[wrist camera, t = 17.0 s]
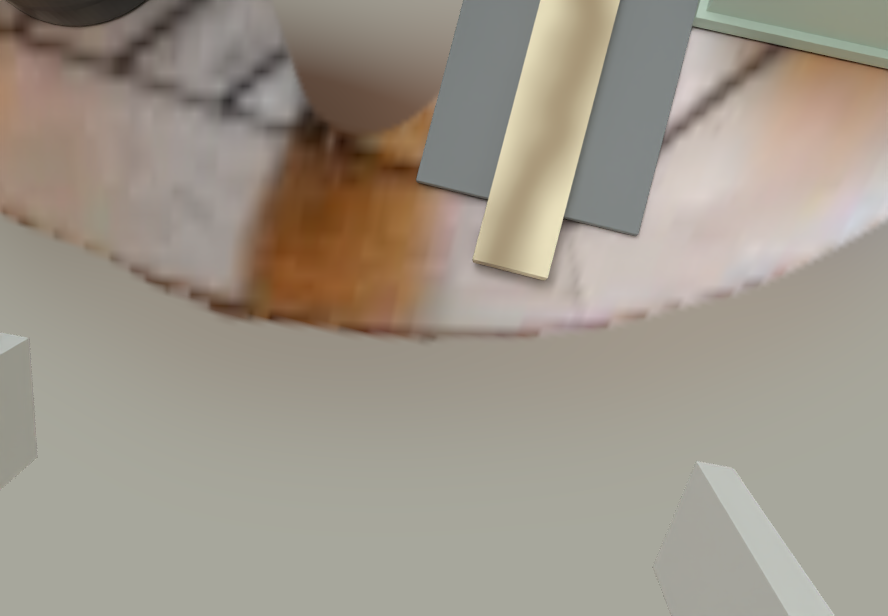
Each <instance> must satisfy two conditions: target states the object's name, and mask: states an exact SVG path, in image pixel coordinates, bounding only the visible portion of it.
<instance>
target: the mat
mask: <svg viewBox="0 0 888 616" xmlns="http://www.w3.org/2000/svg"><path fill="white" fill-rule="evenodd" d="M698 1H699V0H620V2H619V6H618V10H617V14H616V17H615V21H614V25H613V29H612V33H611V37H610V41H609V44H608V48H607V52H606V56H605V60H604V64H603V67H602V71H601V75H600V79H599V83H598V87H597V90H596V94H595V98H594V102H593V106H592V110H591V113H590V117H589V121H588V125H587V129H586V133H585V136H584V140H583V144H582V148H581V152H580V156H579V159H578V163H577V167H576V171H575V175H574V179H573V182H572V186H571V190H570V194H569V198H568V202H567V206H566V209H565V213H564V217H563V218H564V219H568V220H572V221H576V222H581V223H585V224H589V225H593V226H597V227H601V228H605V229H609V230H613V231H617V232H621V233H625V234H629V235H633V236H637V235H638V233H639V229H640V226H641V222H642V218H643V214H644V210H645V206H646V202H647V199H648V195H649V191H650V187H651V183H652V179H653V175H654V171H655V168H656V164H657V160H658V156H659V152H660V148H661V144H662V140H663V137H664V133H665V129H666V125H667V121H668V117H669V113H670V110H671V106H672V102H673V98H674V94H675V90H676V86H677V82H678V79H679V75H680V71H681V67H682V63H683V59H684V55H685V51H686V48H687V44H688V40H689V36H690V32H691V28H692V24H693V21H694V17H695V13H696V9H697V5H698ZM539 4H540V0H463V4H462V8H461V11H460V15H459V19H458V23H457V27H456V30H455V34H454V38H453V42H452V45H451V49H450V53H449V57H448V61H447V65H446V68H445V72H444V76H443V80H442V84H441V87H440V91H439V95H438V99H437V103H436V106H435V110H434V114H433V118H432V122H431V125H430V129H429V133H428V137H427V141H426V144H425V148H424V152H423V156H422V160H421V163H420V167H419V171H418V175H417V179H416V181H417V182H418V183H422V184H426V185H430V186H434V187H439V188H443V189H447V190H451V191H455V192H459V193H463V194H467V195H471V196H475V197H479V198H483V199H487V200H488V198H489V195H490V191H491V187H492V183H493V179H494V176H495V172H496V168H497V164H498V160H499V156H500V153H501V149H502V145H503V141H504V137H505V134H506V130H507V126H508V122H509V118H510V115H511V111H512V107H513V103H514V99H515V95H516V92H517V88H518V84H519V80H520V76H521V73H522V69H523V65H524V61H525V57H526V53H527V50H528V46H529V42H530V38H531V34H532V31H533V27H534V23H535V19H536V15H537V11H538V8H539Z"/></svg>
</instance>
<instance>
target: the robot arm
mask: <svg viewBox="0 0 888 616" xmlns="http://www.w3.org/2000/svg"><path fill="white" fill-rule="evenodd" d="M6 1H7V2H9V3H10V4H12V5H13V6H15V7H16V8H18V9H19V10H21V11H22V12H24V13H26V14H28V15H30V16H32V17H34V18H36V19H39V20H42V21H45V22H48V23H53V24H58V25H66V26H83V25H91V24H96V23H101V22H105V21H108V20H111V19H114V18H116V17H118V16H121V15H123V14H125V13H127V12H129V11H130V10H132V9H134V8H135V7H137V6H138V5H140V4H141V3H142V2H144V1H145V0H6ZM36 458H37V443H36V428H35V413H34V398H33V383H32V370H31V354H30V339H29V338H28V337H22V336H17V335H12V334H6V333H1V332H0V490H1V489H2V488H3V487H4V486H5V485H6V484H8V483H9V482H10V481H11V480H12V479H13V478H14V477H16V476H17V475H18V474H19V473H20V472H21V471H22V470H24V469H25V468H26V467H27V466H28V465H29V464H30V463H32V462H33V461H34V460H35V459H36ZM653 569H654V572H655V574H656V577H657V580H658V582H659V585H660V588H661V590H662V593H663V596H664V598H665V601H666V603H667V606H668V609H669V611H670V614H671V616H835V615H834V614H833V612H832V611H831V609H830V608H829V606H828V605H827V603H826V602H825V601H824V599H823V598H822V597H821V595H820V593H819V592H818V590H817V589H816V587H815V586H814V585H813V584H812V582H811V580H810V579H809V577H808V576H807V574H806V573H805V571H804V570H803V569H802V567H801V566H800V564H799V563H798V561H797V560H796V558H795V557H794V555H793V554H792V553H791V551H790V550H789V548H788V547H787V545H786V544H785V542H784V541H783V539H782V538H781V537H780V535H779V534H778V532H777V531H776V529H775V528H774V526H773V525H772V523H771V522H770V521H769V519H768V518H767V516H766V515H765V513H764V512H763V510H762V509H761V507H760V506H759V504H758V503H757V502H756V500H755V499H754V497H753V496H752V494H751V493H750V491H749V490H748V488H747V487H746V485H745V484H744V483H743V481H742V480H741V478H740V477H739V475H738V474H737V472H736V471H735V469H734V468H731V467H726V466H721V465H715V464H710V463H704V462H699V461H696V462H695V465H694V467H693V470H692V472H691V475H690V477H689V479H688V482H687V484H686V487H685V489H684V492H683V494H682V496H681V499H680V501H679V504H678V506H677V509H676V511H675V514H674V516H673V518H672V521H671V523H670V526H669V528H668V531H667V533H666V536H665V538H664V540H663V543H662V545H661V548H660V550H659V553H658V555H657V558H656V560H655V562H654V565H653Z"/></svg>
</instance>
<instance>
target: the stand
mask: <svg viewBox="0 0 888 616" xmlns="http://www.w3.org/2000/svg"><path fill="white" fill-rule="evenodd" d="M692 26H695V27H700V28H704V29H709V30H713V31H718V32H722V33H727V34H731V35H736V36H740V37H745V38H750V39H754V40H759V41H763V42H768V43H772V44H777V45H781V46H786V47H790V48H795V49H799V50H804V51H809V52H813V53H818V54H822V55H827V56H831V57H836V58H840V59H845V60H849V61H854V62H858V63H863V64H868V65H872V66H877V67H881V68H886V69H888V0H699V1H698V5H697V9H696V13H695V17H694V21H693V24H692Z"/></svg>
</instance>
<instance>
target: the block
mask: <svg viewBox="0 0 888 616" xmlns="http://www.w3.org/2000/svg"><path fill="white" fill-rule="evenodd" d="M619 2H620V0H540V4H539V8H538V11H537V15H536V19H535V23H534V27H533V31H532V34H531V38H530V42H529V46H528V50H527V53H526V57H525V61H524V65H523V69H522V73H521V76H520V80H519V84H518V88H517V92H516V95H515V99H514V103H513V107H512V111H511V115H510V118H509V122H508V126H507V130H506V134H505V137H504V141H503V145H502V149H501V153H500V156H499V160H498V164H497V168H496V172H495V176H494V179H493V183H492V187H491V191H490V195H489V198H488V202H487V206H486V210H485V214H484V218H483V221H482V225H481V229H480V233H479V237H478V240H477V244H476V248H475V252H474V256H473V262H474V263H478V264H482V265H486V266H490V267H493V268H497V269H501V270H505V271H509V272H513V273H517V274H521V275H525V276H529V277H533V278H537V279H541V280H546V279H547V278H548V275H549V271H550V267H551V263H552V259H553V255H554V252H555V248H556V244H557V240H558V236H559V232H560V229H561V225H562V221H563V217H564V213H565V209H566V206H567V202H568V198H569V194H570V190H571V186H572V182H573V179H574V175H575V171H576V167H577V163H578V159H579V156H580V152H581V148H582V144H583V140H584V136H585V133H586V129H587V125H588V121H589V117H590V113H591V110H592V106H593V102H594V98H595V94H596V90H597V87H598V83H599V79H600V75H601V71H602V67H603V64H604V60H605V56H606V52H607V48H608V44H609V41H610V37H611V33H612V29H613V25H614V21H615V17H616V14H617V10H618V6H619Z"/></svg>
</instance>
